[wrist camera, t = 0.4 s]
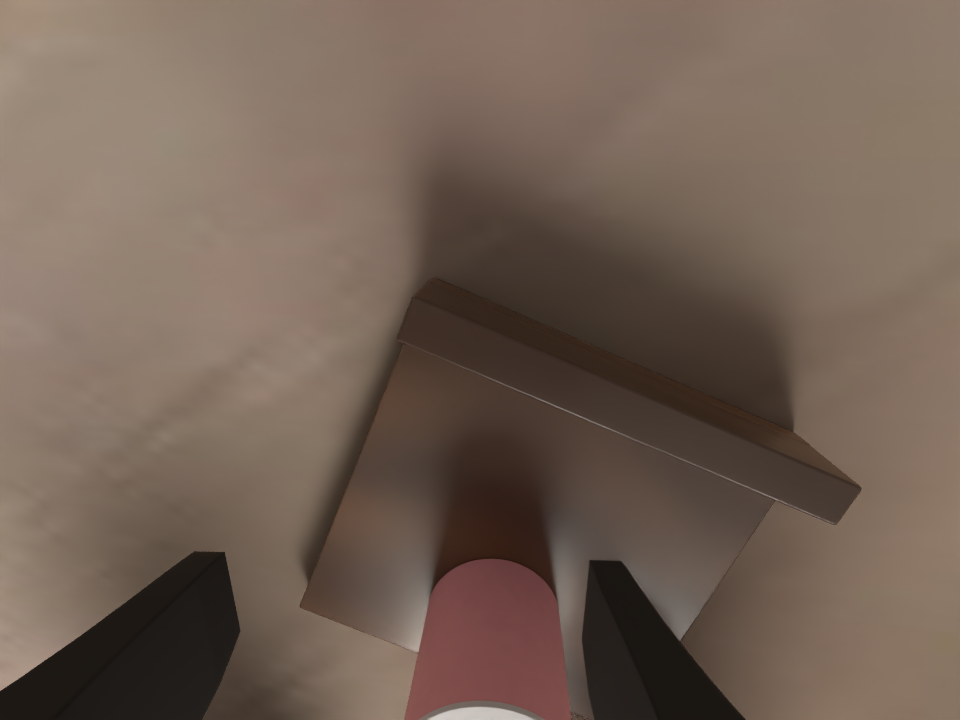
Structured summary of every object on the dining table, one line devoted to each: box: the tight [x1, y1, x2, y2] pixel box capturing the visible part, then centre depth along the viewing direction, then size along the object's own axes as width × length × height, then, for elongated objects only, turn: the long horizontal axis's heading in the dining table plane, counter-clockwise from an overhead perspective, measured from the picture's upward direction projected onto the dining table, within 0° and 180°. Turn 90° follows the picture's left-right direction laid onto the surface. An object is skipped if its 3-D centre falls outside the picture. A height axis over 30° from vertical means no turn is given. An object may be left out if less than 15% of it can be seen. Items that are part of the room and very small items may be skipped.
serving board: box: [300, 277, 862, 720], centre depth 20 cm, size 15×15×4 cm
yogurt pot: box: [404, 559, 571, 720], centre depth 19 cm, size 6×6×7 cm
